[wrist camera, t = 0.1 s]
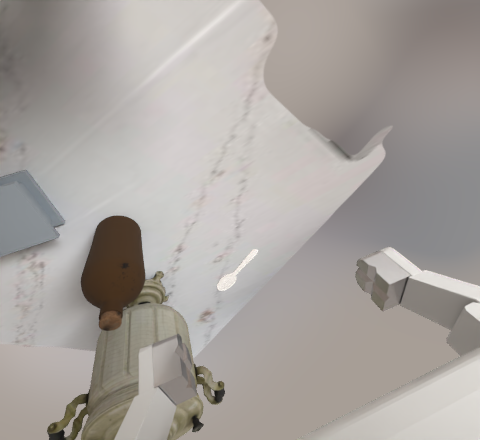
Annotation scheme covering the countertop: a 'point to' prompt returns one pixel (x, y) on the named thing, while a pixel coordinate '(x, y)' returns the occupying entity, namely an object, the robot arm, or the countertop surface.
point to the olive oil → (114, 269)
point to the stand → (25, 214)
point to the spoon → (234, 273)
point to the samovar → (134, 371)
